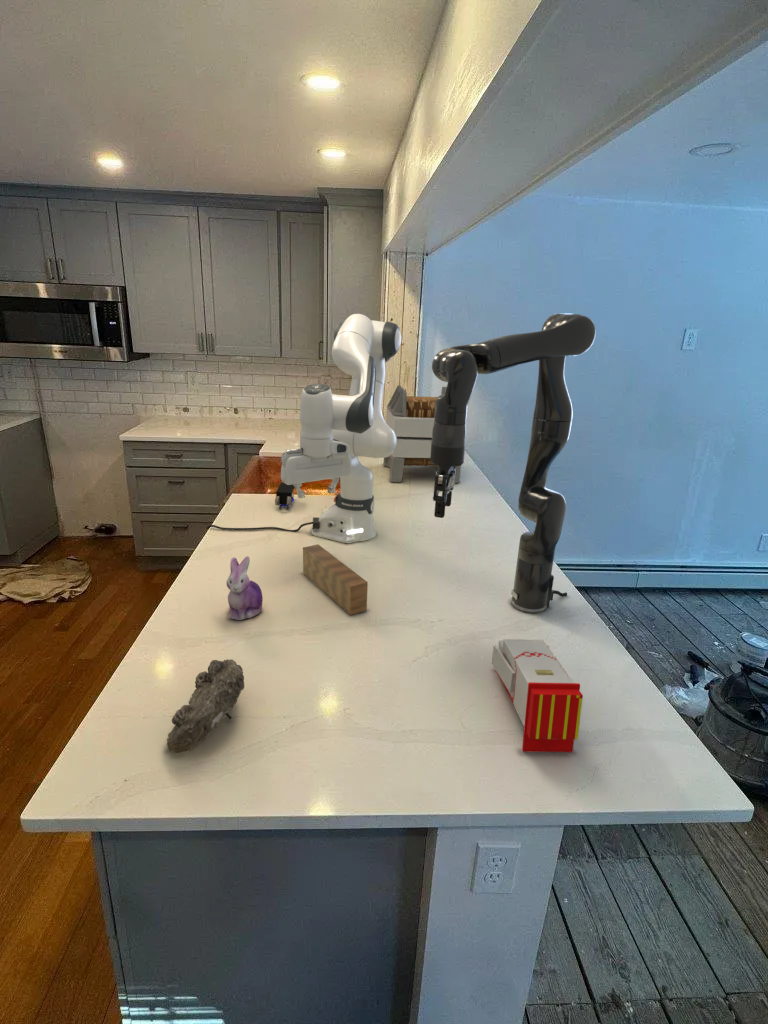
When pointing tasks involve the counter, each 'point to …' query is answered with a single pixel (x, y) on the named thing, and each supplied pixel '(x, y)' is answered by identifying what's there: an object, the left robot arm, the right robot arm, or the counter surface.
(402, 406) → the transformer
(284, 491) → the figurine character
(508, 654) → the toy
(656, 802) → the counter surface
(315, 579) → the bar
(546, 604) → the right robot arm
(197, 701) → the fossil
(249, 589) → the figurine
